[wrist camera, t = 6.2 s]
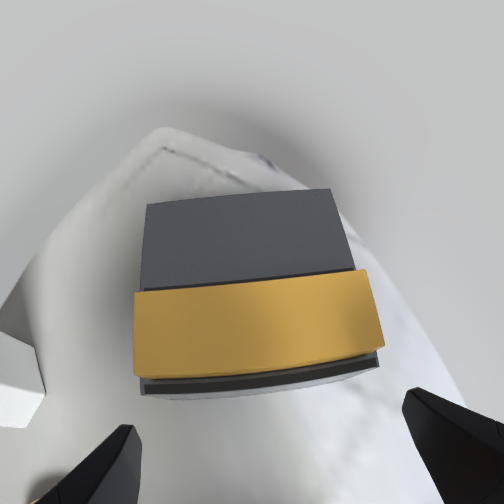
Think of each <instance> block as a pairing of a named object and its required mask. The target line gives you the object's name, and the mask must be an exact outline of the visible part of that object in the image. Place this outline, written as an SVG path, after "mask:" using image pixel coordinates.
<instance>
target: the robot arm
mask: <svg viewBox="0 0 504 504" xmlns="http://www.w3.org/2000/svg"><path fill="white" fill-rule="evenodd" d="M402 413H403V415H404V418H405V420H406V423H407V426H408V428H409V431H410V433H411V436H412V439H413V441H414V444H415V446H416V448H417V450H418V452H419V454H420V456H421V458H422V460H423V462H424V464H425V465H426V467H427V469H428V471H429V473H430V475H431V477H432V479H433V481H434V483H435V485H436V487H437V489H438V492H439V494H440V496H441V498H442V500H443V502H444V504H504V424H503V423H500V422H498V421H495V420H493V419H490V418H488V417H485V416H483V415H480V414H478V413H476V412H474V411H471V410H469V409H466V408H464V407H462V406H460V405H457V404H455V403H453V402H450V401H448V400H446V399H444V398H441V397H439V396H437V395H435V394H432V393H430V392H428V391H426V390H424V389H422V388H419V387H416V388H413V389H410V390H408V391H407V392H406V395H405V399H404V402H403V405H402ZM141 455H142V442H141V439H140V437H139V435H138V433H137V431H136V429H135V427H134V426H133V425H127V424H122V425H120V426H119V427H118V428H117V429H116V430H115V431H114V432H113V433H112V434H110V435H109V436H108V437H107V438H106V439H105V440H104V441H103V442H102V443H101V444H100V445H99V446H98V447H97V448H96V449H95V450H94V451H92V452H91V453H90V454H89V455H88V456H87V457H86V458H85V459H84V460H83V461H82V462H81V463H80V464H79V465H77V466H76V467H75V468H74V469H73V470H72V471H71V472H70V473H69V474H68V475H67V476H65V477H64V478H63V479H62V480H61V481H60V482H59V483H58V484H57V485H55V486H54V487H53V488H52V489H51V490H50V491H49V492H47V493H46V494H45V495H44V496H43V497H41V498H40V499H39V500H37V501H36V502H35V503H33V504H137V501H138V495H139V488H140V477H141Z"/></svg>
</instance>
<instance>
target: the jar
mask: <svg viewBox="0 0 504 504" xmlns="http://www.w3.org/2000/svg"><path fill="white" fill-rule="evenodd" d="M45 395H46V394H45V390H44V386H43V383H42V379H41V375H40V371H39V367H38V363H37V359H36V354H35V350H34V347H32V346H30V345H28V344H26V343H24V342H21V341H19V340H17V339H15V338H13V337H11V336H9V335H7V334H5V333H3V332H1V331H0V426H5V427H15V428H26V427H27V425H28V423H29V421H30V420H31V418H32V416H33V415H34V413H35V411H36V410H37V408H38V406H39V405H40V403H41V402H42V400H43V399H44V397H45Z"/></svg>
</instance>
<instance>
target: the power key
mask: <svg viewBox="0 0 504 504" xmlns="http://www.w3.org/2000/svg"><path fill="white" fill-rule="evenodd" d="M383 346H385V342H384V338H383V334H382V330H381V325H380V321H379V317H378V313H377V309H376V306H375V302H374V298H373V294H372V291H371V287H370V284H369V280H368V277H367V273H366V270H365V269H362V270H355V271H347V272H339V273H330V274H322V275H314V276H305V277H296V278H287V279H278V280H268V281H259V282H249V283H239V284H228V285H218V286H207V287H195V288H184V289H171V290H159V291H145V292H135V294H134V327H133V357H134V375H136V376H138V377H141V378H144V379H147V380H164V379H192V378H209V377H223V376H235V375H245V374H254V373H263V372H271V371H279V370H286V369H293V368H299V367H305V366H311V365H317V364H323V363H328V362H334V361H339V360H344V359H349V358H353V357H358V356H363V355H367V354H370V353H372V352H374V351H376V350H378V349H380V348H382V347H383Z"/></svg>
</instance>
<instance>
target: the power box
mask: <svg viewBox="0 0 504 504" xmlns="http://www.w3.org/2000/svg"><path fill="white" fill-rule="evenodd" d="M355 270H356V268H355V265H354V261H353V258H352V254H351V251H350V248H349V244H348V241H347V238H346V235H345V232H344V229H343V225H342V222H341V219H340V216H339V213H338V210H337V207H336V204H335V201H334V199H333V196H332V193H331V190H330V189H311V190H293V191H277V192H263V193H250V194H238V195H227V196H216V197H206V198H197V199H187V200H179V201H170V202H162V203H154V204H147V208H146V217H145V227H144V237H143V249H142V263H141V281H140V292H145V291H159V290H171V289H184V288H195V287H207V286H218V285H228V284H239V283H249V282H259V281H268V280H278V279H287V278H296V277H305V276H314V275H322V274H330V273H339V272H347V271H355ZM378 367H379V362H378V357H377V352H376V351H374V352H372V353H370V354H367V355H363V356H358V357H353V358H349V359H344V360H339V361H334V362H328V363H323V364H317V365H311V366H305V367H299V368H293V369H286V370H279V371H271V372H263V373H254V374H245V375H235V376H223V377H209V378H192V379H164V380H147V379H144V378H141V377H140V391H141V395H143V396H149V397H156V398H162V399H170V400H190V399H210V398H225V397H237V396H247V395H256V394H265V393H273V392H280V391H287V390H293V389H300V388H306V387H311V386H317V385H322V384H327V383H332V382H337V381H342V380H345V379H348V378H351V377H353V376H356V375H359V374H362V373H364V372H367V371H370V370H372V369H375V368H378Z"/></svg>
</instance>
